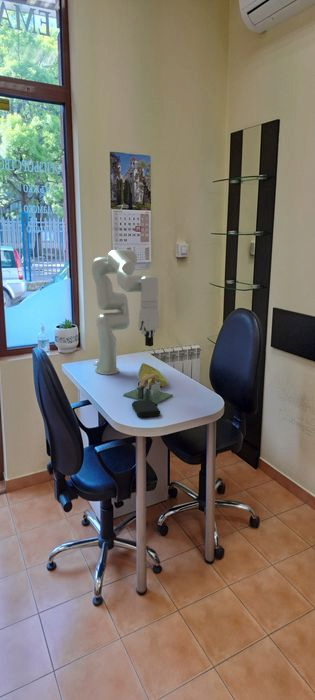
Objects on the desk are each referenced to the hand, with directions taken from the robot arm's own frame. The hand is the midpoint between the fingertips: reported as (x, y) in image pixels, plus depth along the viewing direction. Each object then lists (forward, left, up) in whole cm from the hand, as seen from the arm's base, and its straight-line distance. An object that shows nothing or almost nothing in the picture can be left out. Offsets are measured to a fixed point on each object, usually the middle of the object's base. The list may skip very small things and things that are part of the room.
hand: (149, 345), depth 200 cm
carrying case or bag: (+11, -16, -24) cm, 31 cm away
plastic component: (-9, +17, -24) cm, 31 cm away
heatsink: (+1, -1, -24) cm, 24 cm away
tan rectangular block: (+1, -1, -18) cm, 18 cm away
